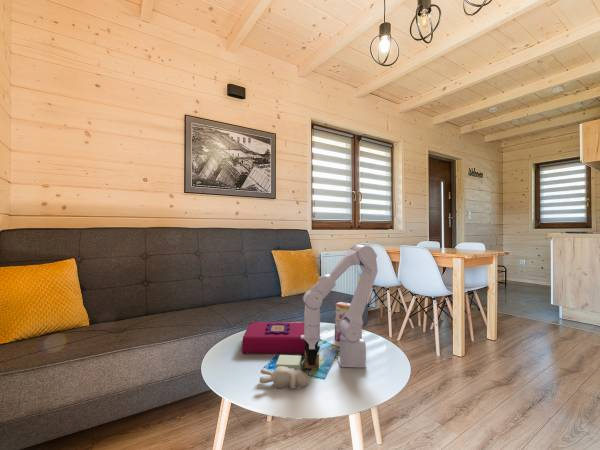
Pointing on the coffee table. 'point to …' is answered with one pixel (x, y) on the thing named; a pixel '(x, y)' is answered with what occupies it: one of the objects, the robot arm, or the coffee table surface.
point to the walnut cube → (315, 362)
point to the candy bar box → (340, 316)
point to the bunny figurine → (285, 377)
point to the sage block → (289, 361)
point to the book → (274, 338)
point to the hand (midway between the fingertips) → (311, 361)
